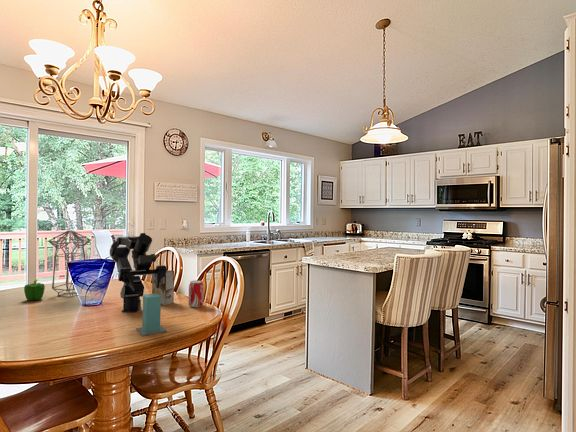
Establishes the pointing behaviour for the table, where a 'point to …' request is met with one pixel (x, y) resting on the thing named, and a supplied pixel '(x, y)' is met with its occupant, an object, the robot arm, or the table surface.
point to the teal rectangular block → (151, 312)
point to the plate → (151, 331)
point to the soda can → (196, 293)
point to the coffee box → (165, 287)
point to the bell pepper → (34, 291)
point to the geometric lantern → (67, 256)
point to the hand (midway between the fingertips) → (146, 289)
